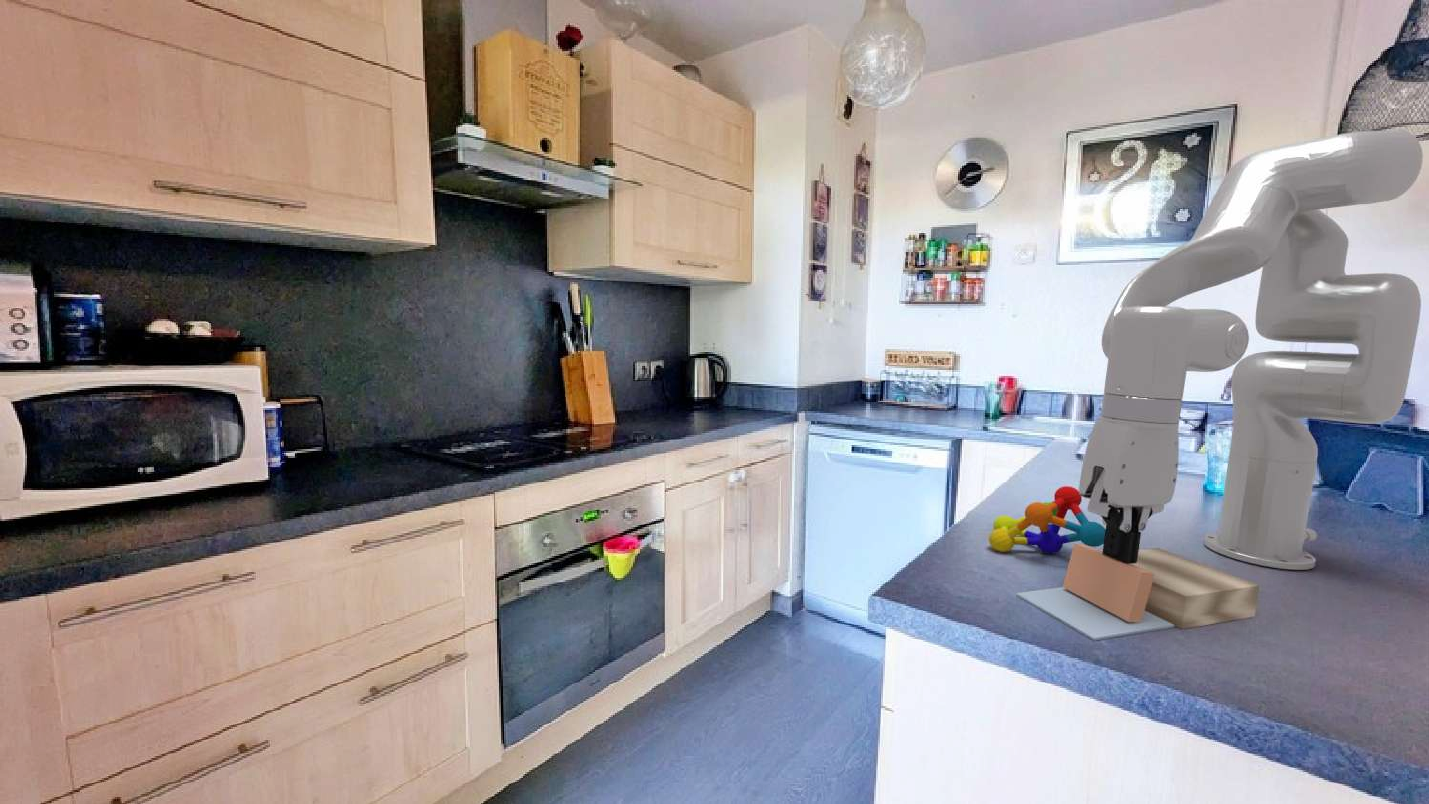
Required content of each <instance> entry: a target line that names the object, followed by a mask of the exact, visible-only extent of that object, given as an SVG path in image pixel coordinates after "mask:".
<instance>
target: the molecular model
mask: <svg viewBox="0 0 1429 804" xmlns="http://www.w3.org/2000/svg"><path fill="white" fill-rule="evenodd" d="M1053 499H1054V500H1053V501H1051V502H1049V501H1048V502H1047V501H1046V502H1039V501H1035V502H1032V503H1030V504H1028V505H1027V507H1026V508H1025V510H1024V516H1022V517H1020V518H1016V519H1015V518H1013V517H1010V516H1008V515H1001V516H999V517H997V518H996V519H995V520H994V521H993V530H992V531H991V532H990V534H989V537H988V542H989V545H990V546H991V548H993V549H994V550H995V551H997V552H1001V553H1005V552H1006V553H1007V552H1009V551H1011V550H1012V549H1013V548H1014V546H1015V545H1016V546H1017V545H1018V546H1037V547H1038V549H1039V550H1040V551H1041V552H1043V553H1045V554H1049V555H1053V554H1054V555H1055V554H1058V553H1059V552H1060V551H1061V550H1062V548H1063V546H1064V544H1070V543H1074V542H1081V544H1084V545H1088V546H1090V547H1092V548H1097V547H1101V546H1102V545H1104V537H1105V530H1106V527H1104V525H1102V524H1101V523H1098V522H1096V521H1089V519H1088V518H1087V517H1086V515H1085V514H1084V512H1083V510H1082V509H1081V507H1080V505H1081V503H1082V496H1081V495H1080V493H1079V489H1077V488H1075V487H1072V486H1069V485H1067V486H1066V485H1065V486H1061V487H1059V488H1058V489H1056V491H1055V492H1054V497H1053ZM1068 511H1071V513H1072V514H1073V515H1074V518H1076V520H1077V521H1078V523H1079V524H1078V523H1075V522H1073V521H1069V520H1066V519H1065V517H1066V515H1067V513H1068ZM1031 526H1034V527H1038V529H1039V531H1040V532H1038V533H1036V532H1033V531H1030V530H1027V529H1028V528H1029V527H1031ZM1061 528H1063V529H1065V530H1068V531H1071V532H1073V533H1068V534H1063V535H1060V534H1059V531H1060V529H1061Z"/></svg>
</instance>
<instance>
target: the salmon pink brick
mask: <svg viewBox="0 0 1429 804" xmlns="http://www.w3.org/2000/svg"><path fill="white" fill-rule="evenodd" d="M1154 575H1155V574H1154V573H1151V572H1149V571H1147V570H1144V569H1142V568H1139V567H1137V566H1135V565H1132V564H1130V563H1129V564H1125V563H1123V562H1121V561H1118V560H1116V559H1114V558H1111V557H1109V556H1107V555H1104V554H1103V550H1102V551H1101V550H1100V549H1096V547H1091V546H1088V545H1085V544H1084V543H1074V542H1073V547H1072V550H1071V554H1070V558H1069V562H1068V565H1067V568H1066V574H1065V577H1064V580H1063V585H1062V587H1064V588H1065V589H1067V590H1069V591H1071V592H1073V593H1075V594H1077V595H1079V596H1081V597H1082V598H1084V599H1086V600H1088V601H1090V602H1092V603H1094V604H1096V605H1098V606H1100V607H1101V608H1103V609H1105V610H1107V611H1109V612H1111V613H1113V614H1115V615H1117V616H1118V617H1120V618H1122V619H1124V620H1126V621H1128V622H1138V623H1141V621H1142V618H1143V614H1144V610H1145V607H1146V603H1147V600H1148V596H1149V592H1150V589H1151V585H1152V582H1153V578H1154Z"/></svg>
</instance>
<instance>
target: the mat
mask: <svg viewBox="0 0 1429 804" xmlns="http://www.w3.org/2000/svg"><path fill="white" fill-rule="evenodd" d="M1015 596H1016V597H1018V598H1020V599H1022V600H1023V601H1024V602H1026V603H1028V604H1029V605H1031V606H1033V607H1035V608H1037V609H1038V610H1040V611H1042V612H1044V613H1045V614H1047V615H1049V616H1050V617H1052V618H1054V619H1056V620H1057V621H1059V622H1060V623H1062V624H1064V625H1066V626H1068V627H1069V628H1072V630H1074V631H1076V632H1078V633H1080V634H1081V635H1082V636H1084V637H1086V638H1088V639H1090V640H1091V641H1094V642H1095V641H1101V640H1107V639H1113V638H1119V637H1124V636H1125V637H1126V636H1131V635H1137V634H1142V633H1148V632H1155V631H1162V630H1167V629H1172V628H1173V629H1174V628H1175V625H1174V624H1172V623H1169V622H1167V621H1165V620H1163V619H1161V618H1159V617H1157V616H1155V615H1153V614H1151V613H1149V612H1147V611H1145V610H1144V614H1143V618H1142V621H1141V623H1138V622H1128V621H1126V620H1124V619H1122V618H1120V617H1118V616H1117V615H1115V614H1113V613H1111V612H1109V611H1107V610H1105V609H1103V608H1101V607H1100V606H1098V605H1096V604H1094V603H1092V602H1090V601H1088V600H1086V599H1084V598H1082V597H1081V596H1079V595H1077V594H1075V593H1073V592H1071V591H1069V590H1067V589H1065V588H1064V587H1063V586H1060V587H1059V586H1058V587H1054V588H1045V589H1039V590H1038V589H1037V590H1031V591H1030V590H1029V591H1023V592H1016V593H1015Z"/></svg>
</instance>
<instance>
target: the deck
mask: <svg viewBox="0 0 1429 804" xmlns="http://www.w3.org/2000/svg"><path fill="white" fill-rule="evenodd" d="M1130 564H1131V563H1130ZM1132 565H1135V566H1137V567H1139V568H1142V569H1144V570H1147V571H1149V572H1151V573H1154V574H1155V575H1154V578H1153V582H1152V585H1151V589H1150V592H1149V596H1148V600H1147V603H1146V607H1145V611H1147V612H1149V613H1151V614H1153V615H1155V616H1157V617H1159V618H1161V619H1163V620H1165V621H1167V622H1169V623H1172V624H1174V627H1177V628H1179V629H1181V630H1183V629H1190V628H1196V627H1201V626H1208V625H1213V624H1218V623H1219V624H1220V623H1224V622H1225V623H1226V622H1233V621H1238V620H1243V619H1249V618H1255V617H1256V610H1257V604H1258V598H1259V591H1260V584H1256V583H1254V582H1251V581H1249V580H1246V579H1243V578H1241V577H1237V576H1235V575H1232V574H1229V573H1227V572H1224V571H1222V570H1219V569H1216V568H1213V567H1210V566H1208V565H1205V564H1204V563H1200V562H1197V561H1194V560H1191V559H1190V558H1187V557H1184V556H1182V555H1179V554H1175V553H1173V552H1170V551H1168V550H1165V549H1162V548H1160V547H1154V548H1146V549H1145V548H1144V549H1139V551H1138V558H1137V562H1136V563H1132Z"/></svg>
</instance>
